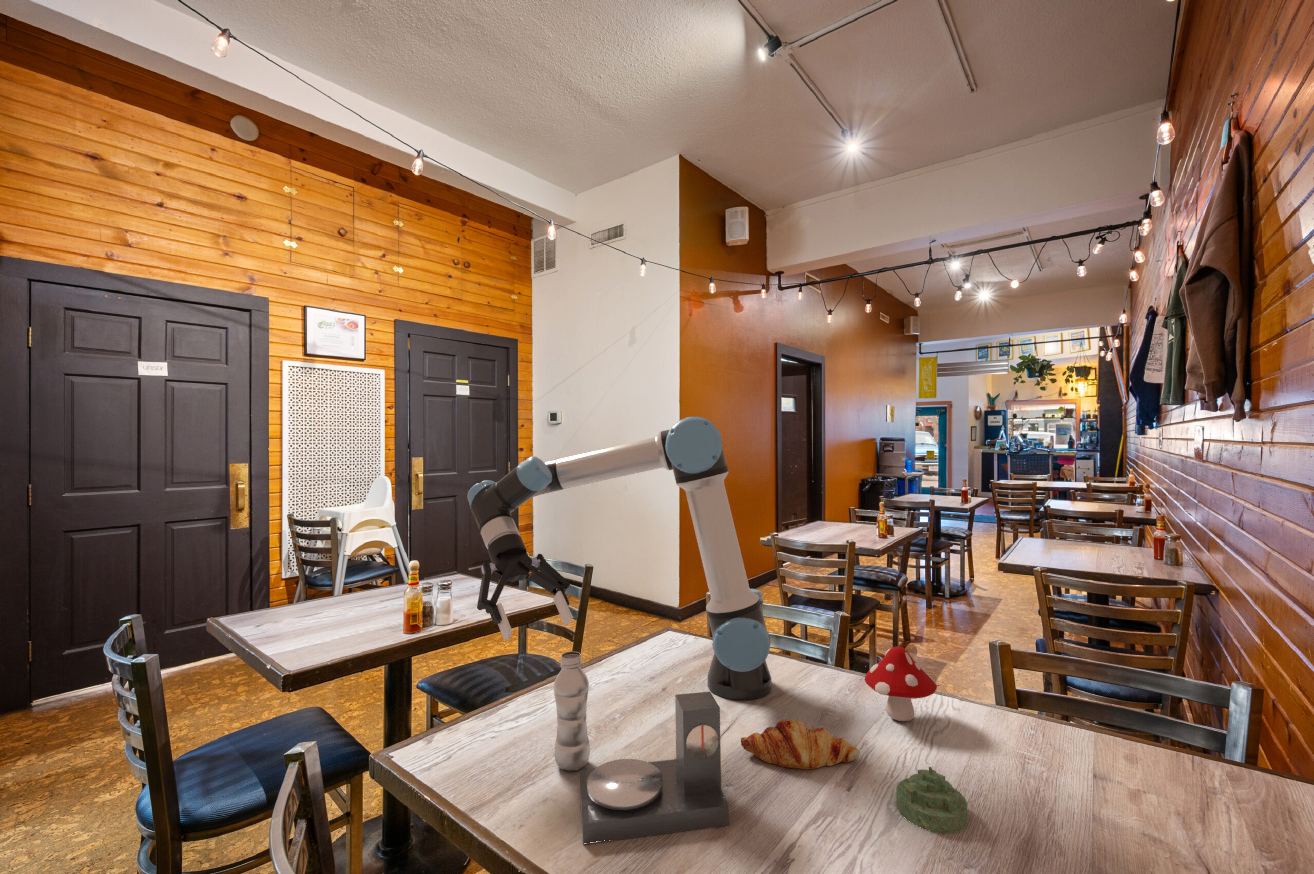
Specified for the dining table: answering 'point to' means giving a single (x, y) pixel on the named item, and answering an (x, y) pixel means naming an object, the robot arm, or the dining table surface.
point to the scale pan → (624, 784)
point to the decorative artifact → (932, 802)
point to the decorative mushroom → (900, 682)
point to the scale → (671, 782)
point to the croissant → (799, 746)
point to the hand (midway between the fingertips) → (540, 628)
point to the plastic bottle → (571, 714)
